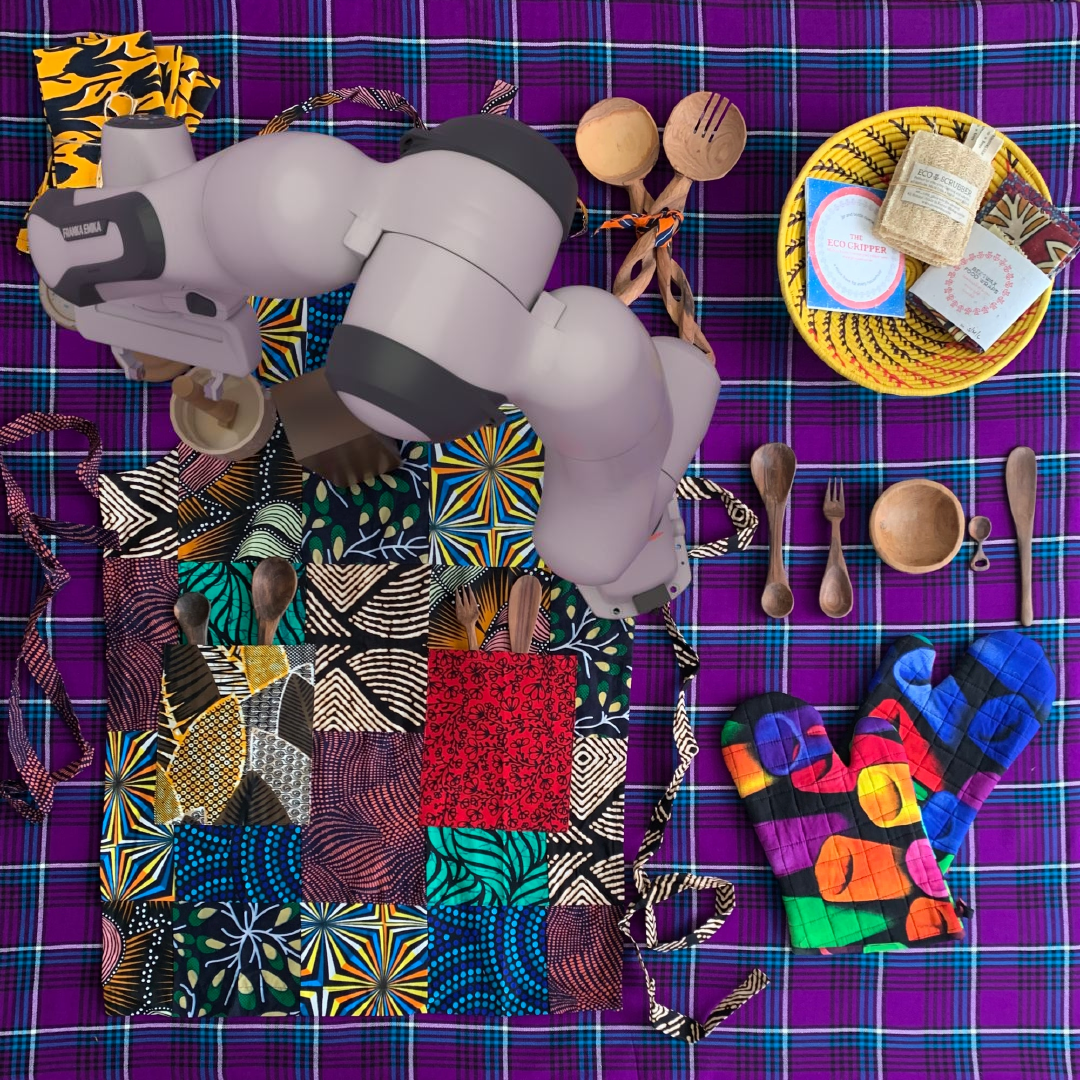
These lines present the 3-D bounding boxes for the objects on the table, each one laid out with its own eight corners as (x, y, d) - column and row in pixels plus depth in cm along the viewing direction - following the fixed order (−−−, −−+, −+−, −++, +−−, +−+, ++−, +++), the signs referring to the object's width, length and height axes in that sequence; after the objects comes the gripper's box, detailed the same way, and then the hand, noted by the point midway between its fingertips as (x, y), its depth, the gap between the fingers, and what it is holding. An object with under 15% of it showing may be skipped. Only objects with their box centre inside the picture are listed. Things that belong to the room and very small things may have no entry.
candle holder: (221, 345, 124) (157, 293, 104) (148, 401, 124) (70, 359, 104) (167, 277, 125) (94, 212, 105) (95, 332, 125) (8, 277, 105)
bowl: (290, 443, 123) (276, 434, 117) (205, 475, 123) (187, 467, 117) (260, 360, 124) (245, 347, 118) (176, 392, 124) (157, 380, 118)
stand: (404, 465, 123) (372, 432, 101) (341, 489, 122) (295, 461, 100) (381, 404, 123) (344, 358, 101) (319, 427, 123) (268, 386, 101)
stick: (225, 401, 123) (176, 369, 107) (243, 405, 123) (197, 374, 107) (218, 426, 123) (167, 398, 107) (236, 431, 122) (188, 403, 106)
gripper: (50, 264, 94) (73, 379, 103) (240, 310, 93) (246, 422, 102) (85, 241, 99) (104, 353, 108) (266, 285, 98) (270, 394, 107)
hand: (175, 387), depth 105 cm, fingers open, 8 cm apart
